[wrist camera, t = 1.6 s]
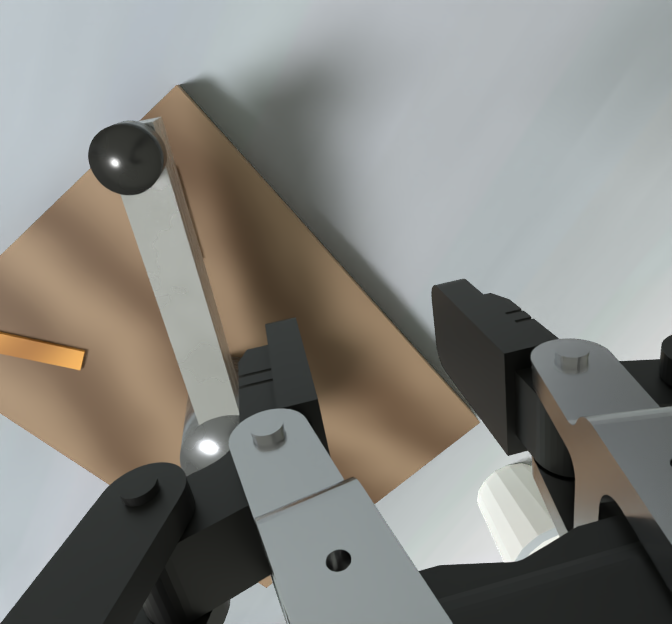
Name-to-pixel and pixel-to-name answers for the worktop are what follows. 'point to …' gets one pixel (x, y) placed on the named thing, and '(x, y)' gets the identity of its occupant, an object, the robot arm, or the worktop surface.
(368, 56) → the worktop surface
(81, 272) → the dial plate
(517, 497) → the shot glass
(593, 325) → the worktop surface
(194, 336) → the lever
